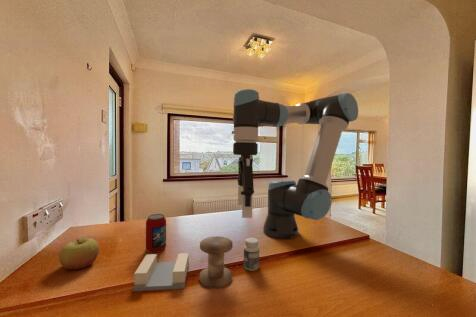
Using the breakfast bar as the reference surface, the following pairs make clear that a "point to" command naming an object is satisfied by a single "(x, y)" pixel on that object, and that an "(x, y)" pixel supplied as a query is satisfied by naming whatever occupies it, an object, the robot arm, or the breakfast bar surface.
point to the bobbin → (215, 262)
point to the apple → (79, 253)
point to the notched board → (161, 273)
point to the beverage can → (155, 233)
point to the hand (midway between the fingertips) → (244, 210)
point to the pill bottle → (251, 254)
